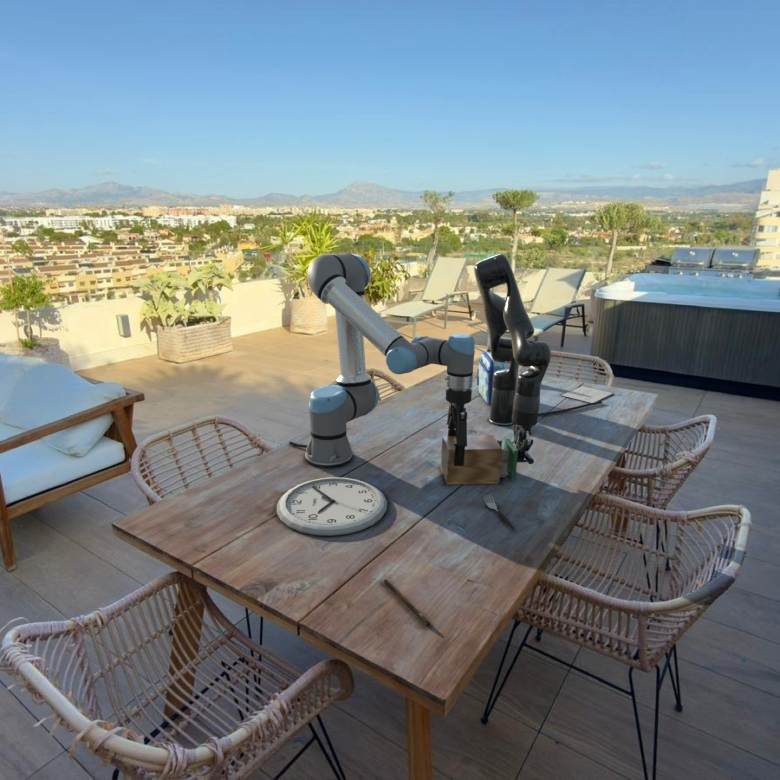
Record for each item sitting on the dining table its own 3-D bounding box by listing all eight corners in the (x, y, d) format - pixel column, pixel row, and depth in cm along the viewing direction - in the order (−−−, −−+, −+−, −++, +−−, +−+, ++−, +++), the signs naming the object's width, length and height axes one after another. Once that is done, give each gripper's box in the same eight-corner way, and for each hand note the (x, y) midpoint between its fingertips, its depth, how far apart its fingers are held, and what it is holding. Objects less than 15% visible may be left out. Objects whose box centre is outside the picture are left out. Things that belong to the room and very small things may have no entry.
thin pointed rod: (383, 582, 112) (383, 578, 112) (385, 582, 112) (385, 578, 112) (426, 626, 100) (426, 621, 100) (428, 625, 100) (428, 620, 100)
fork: (509, 531, 131) (510, 524, 131) (482, 501, 146) (482, 494, 145) (519, 530, 132) (519, 523, 132) (491, 499, 147) (491, 493, 146)
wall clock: (392, 527, 129) (268, 531, 127) (391, 533, 130) (269, 537, 127) (383, 473, 158) (282, 475, 155) (383, 478, 158) (282, 480, 156)
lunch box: (475, 390, 246) (478, 346, 240) (498, 390, 246) (501, 347, 240) (484, 408, 221) (487, 360, 215) (509, 409, 221) (513, 360, 215)
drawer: (522, 465, 167) (525, 438, 164) (532, 479, 158) (535, 450, 155) (460, 466, 165) (462, 439, 162) (467, 480, 156) (469, 451, 154)
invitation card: (582, 386, 254) (612, 393, 244) (582, 386, 255) (612, 393, 244) (561, 395, 240) (592, 402, 230) (561, 395, 240) (592, 403, 230)
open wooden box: (490, 467, 167) (492, 435, 164) (499, 483, 157) (502, 448, 153) (440, 468, 166) (442, 435, 162) (446, 484, 156) (448, 449, 152)
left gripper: (439, 376, 163) (436, 442, 170) (454, 400, 141) (449, 474, 148) (463, 376, 164) (459, 441, 170) (481, 400, 142) (476, 474, 148)
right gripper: (507, 400, 162) (502, 451, 167) (520, 415, 149) (513, 470, 154) (531, 400, 162) (524, 452, 168) (546, 415, 150) (538, 470, 155)
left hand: (455, 457), depth 159 cm, fingers closed on open wooden box, 11 cm apart
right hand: (519, 460), depth 161 cm, fingers closed
